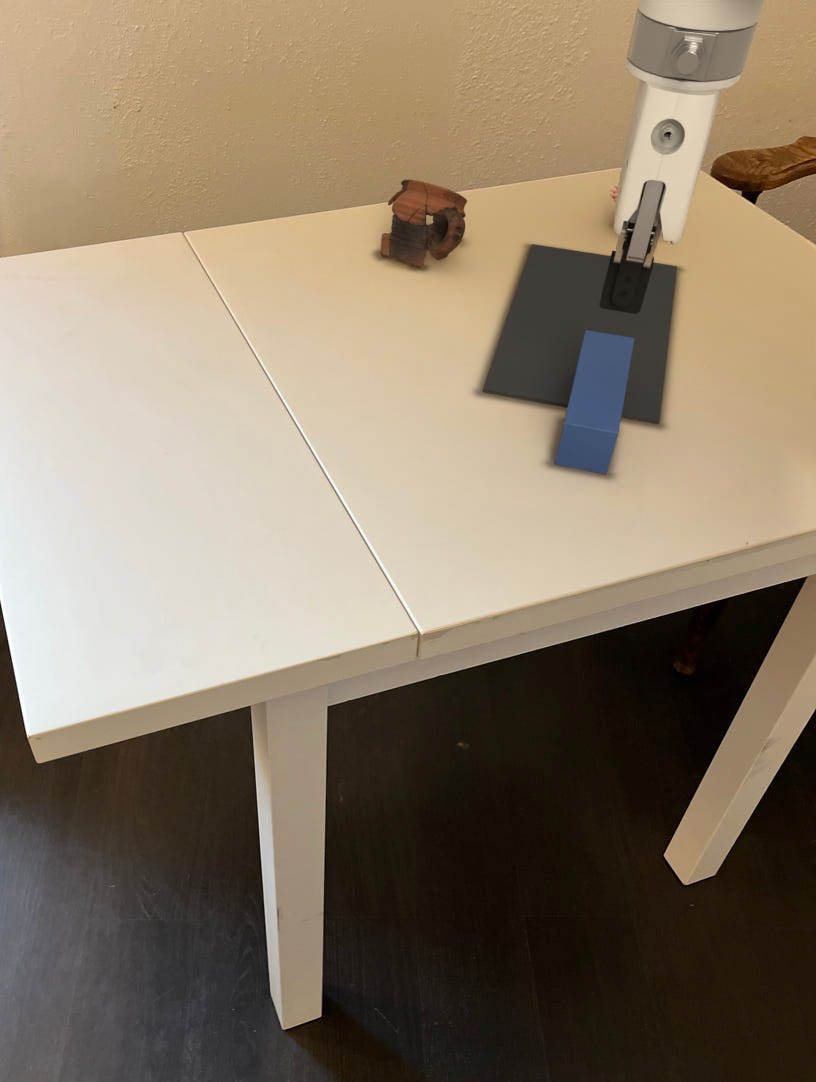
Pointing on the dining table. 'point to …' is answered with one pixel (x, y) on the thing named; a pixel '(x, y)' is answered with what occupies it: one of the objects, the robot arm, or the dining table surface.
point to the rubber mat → (579, 331)
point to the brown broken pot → (424, 223)
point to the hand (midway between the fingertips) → (619, 305)
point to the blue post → (595, 402)
